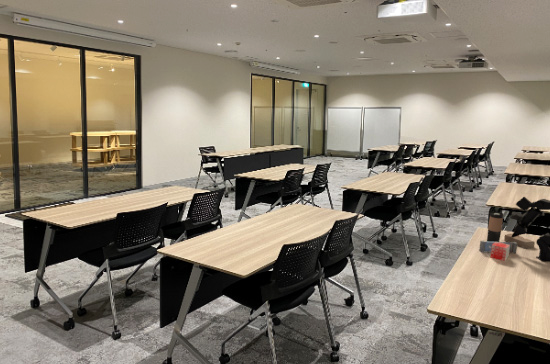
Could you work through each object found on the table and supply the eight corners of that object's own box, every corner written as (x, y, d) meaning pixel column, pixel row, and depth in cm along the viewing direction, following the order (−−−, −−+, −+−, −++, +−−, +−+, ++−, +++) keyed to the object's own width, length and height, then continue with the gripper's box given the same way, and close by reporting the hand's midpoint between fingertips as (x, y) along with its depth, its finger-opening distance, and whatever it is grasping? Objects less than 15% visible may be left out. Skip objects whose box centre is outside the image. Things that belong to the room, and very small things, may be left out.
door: (513, 253, 258) (514, 243, 257) (485, 252, 259) (487, 242, 257) (510, 252, 261) (512, 242, 260) (483, 250, 261) (485, 241, 260)
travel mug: (497, 241, 281) (502, 212, 277) (500, 245, 274) (504, 215, 270) (485, 240, 283) (489, 211, 279) (487, 243, 276) (491, 214, 272)
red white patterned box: (504, 260, 246) (506, 248, 245) (490, 257, 251) (492, 244, 250) (508, 257, 252) (510, 244, 251) (493, 253, 257) (495, 241, 256)
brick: (534, 247, 272) (535, 240, 271) (525, 249, 269) (526, 241, 268) (512, 239, 287) (513, 233, 286) (503, 240, 284) (504, 234, 283)
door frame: (516, 253, 259) (517, 243, 258) (480, 252, 260) (482, 241, 258) (514, 252, 262) (515, 242, 260) (479, 250, 262) (480, 240, 261)
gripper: (519, 202, 263) (503, 220, 272) (516, 213, 249) (498, 231, 257) (536, 213, 260) (519, 231, 268) (534, 224, 245) (515, 243, 253)
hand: (512, 234), depth 262 cm, fingers open, 9 cm apart
